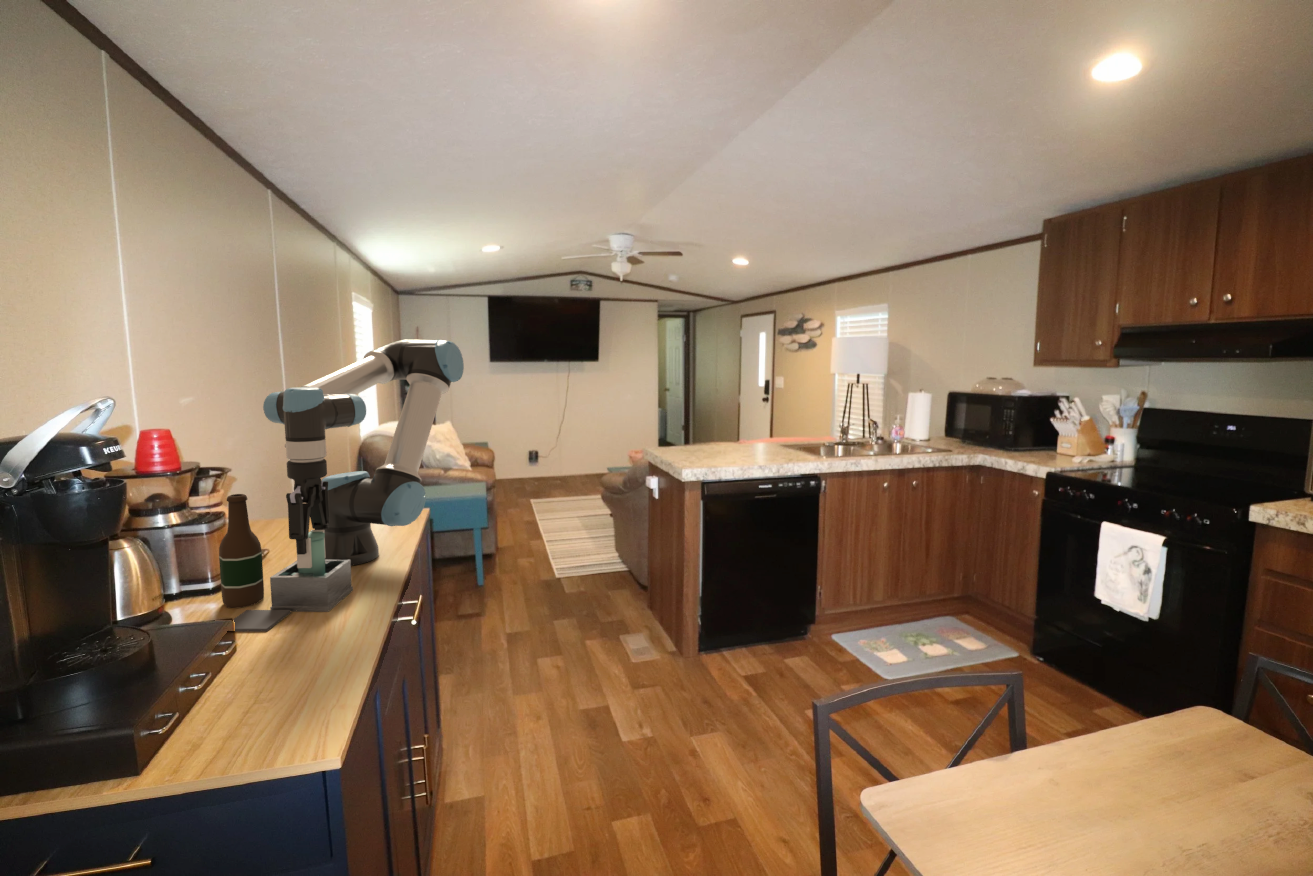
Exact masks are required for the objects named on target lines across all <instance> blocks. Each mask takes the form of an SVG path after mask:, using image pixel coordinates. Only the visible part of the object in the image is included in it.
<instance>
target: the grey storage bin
mask: <svg viewBox="0 0 1313 876" xmlns="http://www.w3.org/2000/svg"><path fill="white" fill-rule="evenodd" d="M292 573H296V574H294V575H293V576H291V574H292ZM325 573H327V574H326V575H325V576H314V573H298V568H297V560H296V561H294V562H292V563H290V564H289V565H288V566H286V567H285V568H283V569H280V571H278V572H276V573H275V574H273V575H271V576H270V577H269V582H270V597H271V598H270V599H271V602H270V603H271V606H270V608H269V610H291V613H295V612H297V613H299V612H302V613H303V612H306V613H307V612H308V613H309V612H312V613H313V612H315V613H318V612H321V613H324V612H326V613H327V612H331V610H333V609H334V608H335V607H336V606H337V605H338V604H339V603H340V602H342V600H344V599H345V598H346V597H347V596H348V595H349V594H350V593H352V592H354V587H353V585H352V567H351V560H325Z"/></svg>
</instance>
